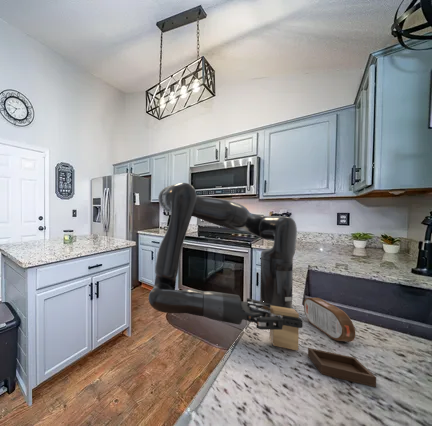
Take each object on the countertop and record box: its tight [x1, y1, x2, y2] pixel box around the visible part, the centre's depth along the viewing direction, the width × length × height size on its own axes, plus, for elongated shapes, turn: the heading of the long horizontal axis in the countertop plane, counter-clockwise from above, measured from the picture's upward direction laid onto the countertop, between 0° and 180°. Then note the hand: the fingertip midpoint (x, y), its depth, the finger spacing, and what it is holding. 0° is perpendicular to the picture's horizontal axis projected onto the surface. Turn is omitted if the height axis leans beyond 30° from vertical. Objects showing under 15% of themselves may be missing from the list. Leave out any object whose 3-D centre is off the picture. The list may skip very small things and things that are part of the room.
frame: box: [307, 347, 377, 388], centre depth 45 cm, size 6×8×2 cm
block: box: [269, 305, 300, 351], centre depth 53 cm, size 3×5×9 cm, turn 67°
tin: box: [303, 297, 356, 343], centre depth 60 cm, size 15×3×8 cm, turn 168°
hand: (298, 319), depth 52 cm, fingers closed on block, 3 cm apart
